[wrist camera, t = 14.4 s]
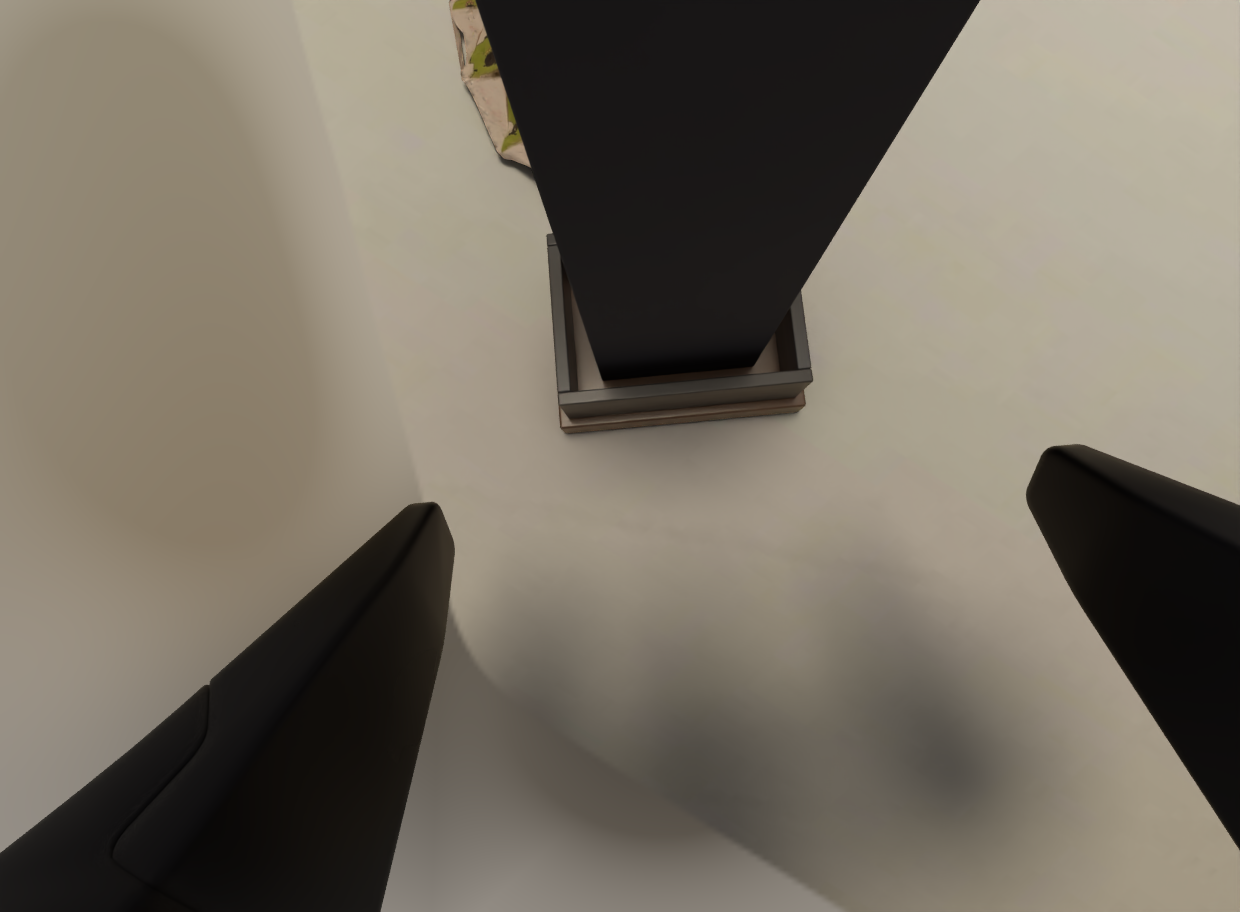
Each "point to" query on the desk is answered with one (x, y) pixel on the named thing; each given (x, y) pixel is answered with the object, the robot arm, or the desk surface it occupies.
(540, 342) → the desk surface
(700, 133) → the back pad
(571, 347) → the seat base
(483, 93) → the bear figurine
